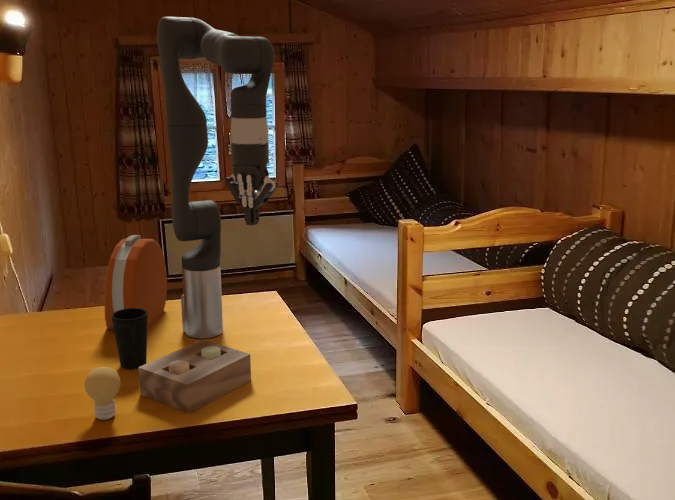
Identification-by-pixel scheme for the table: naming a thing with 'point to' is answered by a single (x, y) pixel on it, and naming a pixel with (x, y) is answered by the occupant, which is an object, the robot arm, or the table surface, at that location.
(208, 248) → the robot arm
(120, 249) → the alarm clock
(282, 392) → the table surface
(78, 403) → the table surface
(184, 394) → the socket block
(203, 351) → the peg sage
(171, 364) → the peg birch
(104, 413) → the light bulb
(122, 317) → the cup
